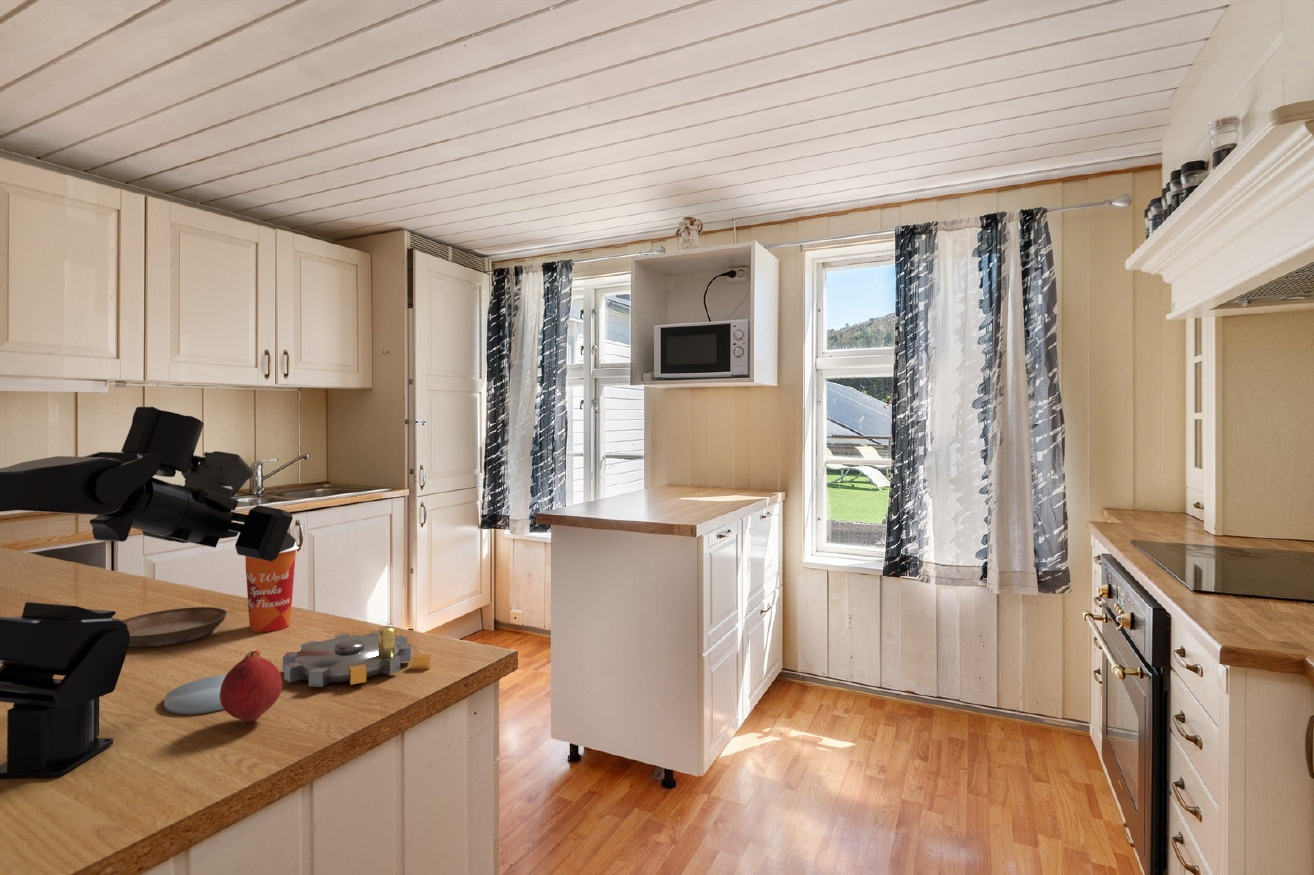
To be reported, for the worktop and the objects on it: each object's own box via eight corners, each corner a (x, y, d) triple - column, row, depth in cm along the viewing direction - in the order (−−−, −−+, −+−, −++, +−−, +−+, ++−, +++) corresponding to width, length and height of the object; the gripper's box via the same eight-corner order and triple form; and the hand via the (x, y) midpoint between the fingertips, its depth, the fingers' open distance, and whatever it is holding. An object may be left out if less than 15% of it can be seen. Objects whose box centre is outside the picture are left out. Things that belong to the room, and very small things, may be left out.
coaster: (234, 713, 72) (234, 706, 72) (142, 714, 72) (142, 707, 72) (280, 679, 82) (280, 673, 82) (200, 679, 82) (200, 673, 82)
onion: (251, 737, 67) (252, 661, 67) (205, 731, 68) (206, 657, 68) (293, 713, 73) (294, 643, 73) (250, 708, 74) (251, 639, 74)
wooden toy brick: (421, 679, 83) (421, 666, 83) (304, 679, 83) (304, 667, 83) (439, 657, 91) (439, 646, 91) (332, 657, 91) (332, 646, 91)
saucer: (81, 647, 93) (81, 629, 93) (178, 619, 108) (178, 603, 108) (160, 658, 90) (160, 638, 90) (249, 626, 104) (250, 610, 104)
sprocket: (387, 686, 79) (388, 643, 79) (256, 687, 78) (256, 643, 78) (426, 643, 95) (426, 607, 95) (317, 644, 94) (318, 607, 94)
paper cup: (234, 636, 99) (235, 546, 99) (251, 621, 106) (252, 538, 106) (290, 632, 101) (291, 544, 101) (303, 618, 108) (304, 536, 108)
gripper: (262, 454, 73) (344, 491, 88) (134, 433, 77) (233, 472, 92) (222, 549, 70) (315, 572, 84) (89, 522, 74) (200, 548, 88)
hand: (265, 537), depth 87 cm, fingers open, 9 cm apart
